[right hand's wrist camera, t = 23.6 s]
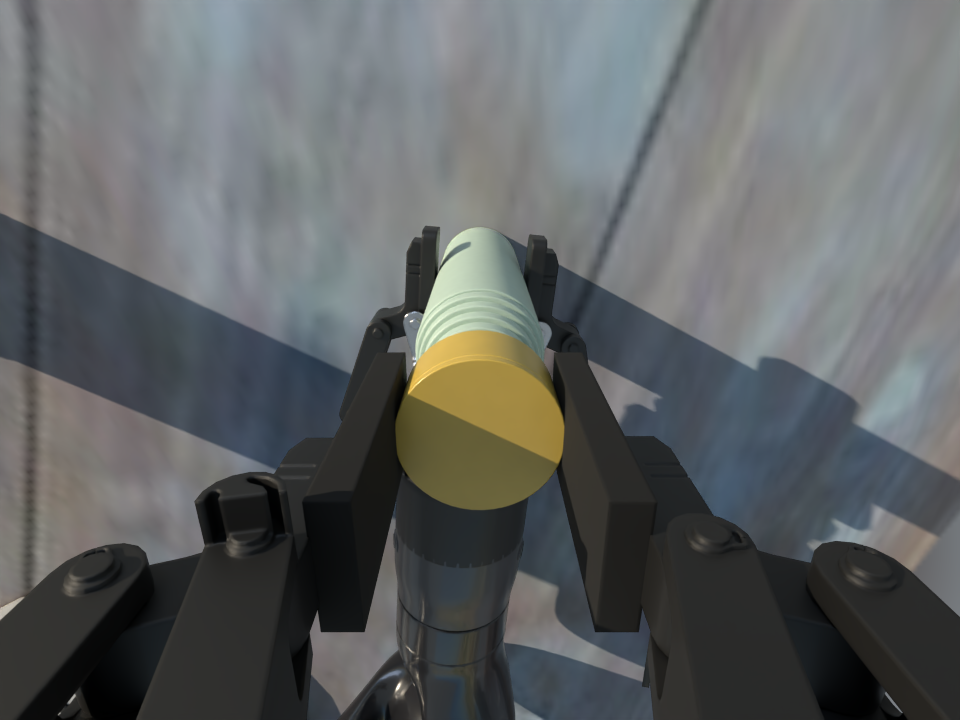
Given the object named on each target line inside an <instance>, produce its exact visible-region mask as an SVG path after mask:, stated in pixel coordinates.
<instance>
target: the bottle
mask: <svg viewBox="0 0 960 720" xmlns="http://www.w3.org/2000/svg"><path fill="white" fill-rule="evenodd" d="M475 330H485V331H493V332H499V333H502V334H506V335H509V336H511V337H513V338H516V339H518V340H519V341H521V342H523V343H524V344H526V345H527V346H528V347H530V348H531V349H532V350H533V351H534V352H535V353H536V354H537V355H538V356H539V357H540V358H541V360H542V361H543V362H544V338H543V334H542V331H541V327H540V324H539V322H538V319H537V316H536V313H535V310H534V307H533V304H532V301H531V298H530V295H529V292H528V289H527V286H526V283H525V281H524V278H523V275H522V272H521V269H520V266H519V263H518V260H517V257H516V254H515V251H514V249H513V247H512V245H511V244H510V242H509V241H508V240H507V239H506V238H505V237H504V236H503V235H502V234H500V233H499V232H497V231H495V230H492V229H489V228H483V227H477V228H471V229H468V230H465V231H463V232H461V233H460V234H458V235H457V236H456V237H455V238H454V239H453V240H452V241H451V242H450V244H449V245H448V247H447V249H446V251H445V254H444V257H443V260H442V263H441V266H440V269H439V272H438V275H437V278H436V281H435V284H434V287H433V290H432V292H431V295H430V298H429V301H428V304H427V307H426V310H425V313H424V316H423V319H422V322H421V325H420V328H419V331H418V333H417V338H416V347H415V351H416V362H417V361H418V359H419V358H420V357H421V356H422V355H423V353H425V352H426V351H427V350H428V349H429V348H430V347H431V346H433V345H434V344H436V343H437V342H439V341H440V340H442V339H444V338H446V337H449V336H451V335H454V334H457V333H461V332H466V331H475Z"/></svg>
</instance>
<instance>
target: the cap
mask: <svg viewBox="0 0 960 720" xmlns="http://www.w3.org/2000/svg"><path fill="white" fill-rule="evenodd" d="M395 431H396V446H397V455H398V458H399V461H400V463H401V465H402V467H403V469H404V470H405V472H406V473H407V475H408V476H409V478H410V479H411V480H412V481H413V482H414V483H415V484H416V485H417V486H418V487H419V488H420V489H421V490H422V491H424V492H425V493H426V494H428V495H429V496H431V497H432V498H434V499H436V500H438V501H440V502H442V503H445V504H448V505H451V506H454V507H458V508H463V509H470V510H489V509H497V508H502V507H506V506H509V505H512V504H515V503H517V502H519V501H522V500H524V499H525V498H527V497H529V496H530V495H532V494H533V493H535V492H536V491H537V490H539V489H540V488H541V487H542V486H543V485H544V484H545V483H546V482H547V481H548V480H549V479H550V477H551V476H552V475H553V473H554V472H555V470H556V468H557V467H558V465H559V463H560V460H561V458H562V455H563V440H564V417H563V413H562V410H561V407H560V404H559V401H558V398H557V394H556V391H555V388H554V385H553V382H552V379H551V376H550V373H549V371H548V369H547V367H546V366H545V364H544V362H543V361H542V360H541V358H540V357H539V356H538V355H537V354H536V353H535V352H534V351H533V350H532V349H531V348H530V347H528V346H527V345H526V344H524V343H523V342H521V341H519V340H518V339H516V338H513V337H511V336H509V335H506V334H502V333H499V332H493V331H485V330H475V331H466V332H461V333H457V334H454V335H451V336H449V337H446V338H444V339H442V340H440V341H439V342H437V343H436V344H434V345H433V346H431V347H430V348H429V349H428V350H427V351H426V352H425V353H423V355H422V356H421V357H420V358H419V359H418V361H417V362H416V364H415V365H414V367H413V369H412V371H411V373H410V375H409V378H408V381H407V384H406V387H405V391H404V394H403V397H402V400H401V403H400V407H399V410H398V413H397V417H396V420H395Z"/></svg>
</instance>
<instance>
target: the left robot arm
mask: <svg viewBox="0 0 960 720" xmlns="http://www.w3.org/2000/svg"><path fill="white" fill-rule="evenodd" d="M439 240H440V227H433V226H425V227H424V229H423V231H422V238H418V237H415V238H414V239H413V241H412V242H411V244H410V246H409V249H408V251H407V262H406V264H407V265H406V291H405V303H404V304H402V305H401V306H398V307H394V308H390V309H389V308H382V309H380V310H378V311H377V313H376V314H375V316H374V317H373V319H372V320H371V322H370V324H369V325H368V327H367V329H366V332H365V335H364V338H363V341H362V344H361V347H360V350H359V354H358V357H357V360H356V363H355V366H354V369H353V372H352V375H351V378H350V381H349V385H348V388H347V391H346V394H345V397H344V400H343V403H342V406H341V409H340V414H339V415H340V418H341V420H342V421H343V419H344V417H345V415H346V413H347V412H348V410H349V408H350V406H351V404H352V402H353V400H354V398H355V396H356V394H357V392H358V390H359V388H360V386H361V384H362V382H363V380H364V378H365V376H366V374H367V372H368V370H369V368H370V366H371V364H372V362H373V360H374V358H375V356H376V354H377V353H387V351H388V348H389V345H390V342H391V339H395V338H399V337H403V336H407V340H408V343H409V347H410V350H411V353H412V357H413V367H414V365H415V364H416V351H415V347H416V338H417V333H418V331H419V328H420V325H421V322H422V319H423V316H424V313H425V310H426V307H427V304H428V301H429V298H430V295H431V292H432V290H433V287H434V284H435V281H436V278H437V275H438V258H439ZM558 266H559V264H558V260H557V256H556V253H555V252H554V251H553V249H548V248H547V239H546V238H545V237H544V236H540V235H529V239H528V247H527V255H526V263H525V272H524V281H525V283H526V286H527V289H528V292H529V295H530V298H531V301H532V304H533V307H534V310H535V313H536V316H537V319H538V322H539V324H540V327H541V331H542V334H543V338H544V351H545V349H546V347H547V348H549V349H552V350H554V351H556V352H558V353H583V355H584V357H585V359H586V361H587V363H588V359H587V351H586V345H585V343H584V341H583V339H582V338H581V337H580V335H579V332H578V330H577V328H576V326H575V325H574V324H572V323H569V322H565V323H564V322H561V321H559V320H557V319H555V318H554V317H553V316H552V308H553V301H554V294H555V287H556V280H557V273H558ZM527 502H528V497H527V498H525V499H524V500H522V501H519V502H517V503H515V504H512V505H509V506H506V507H502V508H497V509H489V510H470V509H463V508H458V507H454V506H451V505H448V504H445V503H442V502H440V501H438V500H436V499H434V498H432V497H431V496H429V495H428V494H426V493H425V492H424V491H422V490H421V489H420V488H419V487H418V486H417V485H416V484H415V483H414V482H413V481H412V480H411V479H410V478H409V476H408V475H407V473H406V472H405V470H404V469H403V473H402V477H401V481H400V485H399V490H398V494H397V500H396V529H395V531H394V534H393V543H394V548H395V566H396V574H397V581H398V593H397V620H396V633H397V643H398V648H399V650H398V651H396V652H395V653H394V654H393V655H392V656H391V657H390V658H389V659H388V660H387V661H386V662H385V663H384V664H383V665H382V666H381V668H380V669H379V670H378V671H377V673H376V674H375V675H374V676H373V677H372V679H371V680H370V681H369V682H368V684H367V685H366V686H365V687H364V689H363V690H362V691H361V692H360V694H359V695H358V696H357V697H356V698H355V700H354V701H353V702H352V703H351V704H350V705H349V707H348V708H347V709H346V710H345V711H344V712H343V714H342V715H341V716H340V717H339V718H338V719H337V720H515V706H514V698H513V692H512V685H511V678H510V671H509V664H508V659H507V655H506V651H505V646H504V634H505V627H506V619H507V612H508V605H509V598H510V593H511V590H512V587H513V584H514V581H515V578H516V574H517V570H518V565H519V559H520V558H521V555H522V550H523V544H524V541H523V531H524V524H525V516H526V509H527Z"/></svg>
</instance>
